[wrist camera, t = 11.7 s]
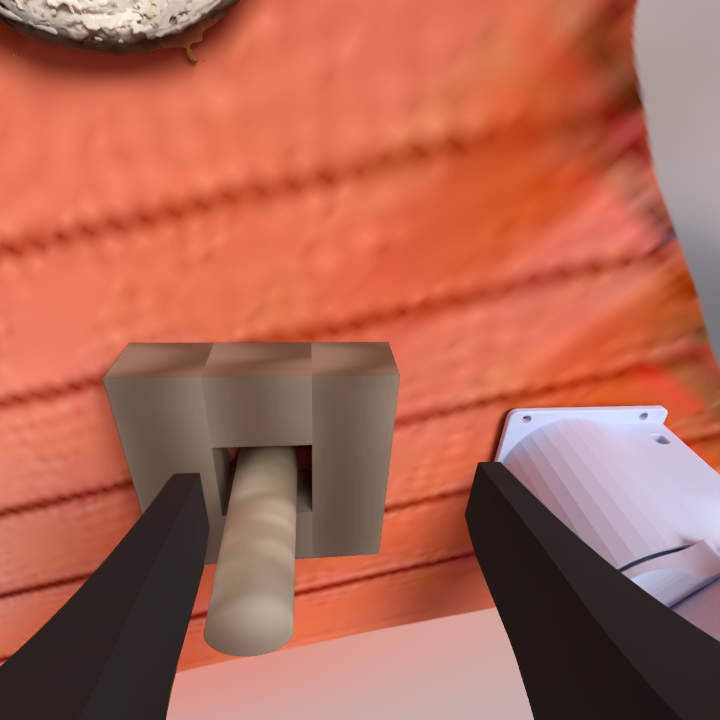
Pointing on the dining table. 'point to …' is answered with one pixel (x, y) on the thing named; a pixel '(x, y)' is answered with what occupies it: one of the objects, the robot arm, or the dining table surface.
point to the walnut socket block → (264, 428)
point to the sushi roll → (114, 23)
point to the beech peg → (256, 556)
